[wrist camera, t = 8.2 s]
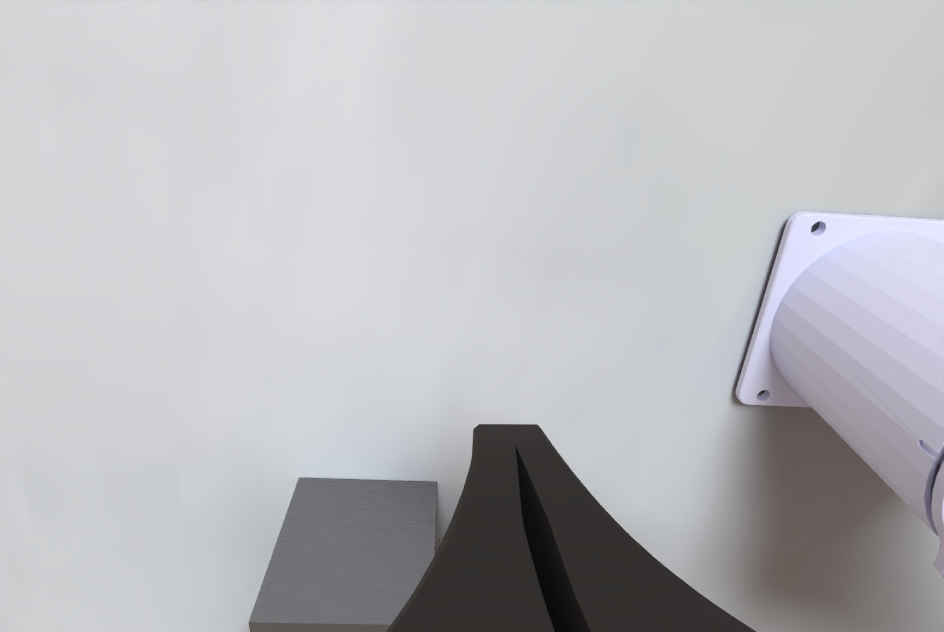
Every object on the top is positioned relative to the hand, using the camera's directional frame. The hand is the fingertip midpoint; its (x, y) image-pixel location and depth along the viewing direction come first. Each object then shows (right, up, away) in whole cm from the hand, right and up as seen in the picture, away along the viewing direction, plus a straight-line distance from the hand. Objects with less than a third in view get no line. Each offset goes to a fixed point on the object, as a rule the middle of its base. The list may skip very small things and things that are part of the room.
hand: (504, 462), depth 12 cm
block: (-6, -11, +17) cm, 21 cm away
